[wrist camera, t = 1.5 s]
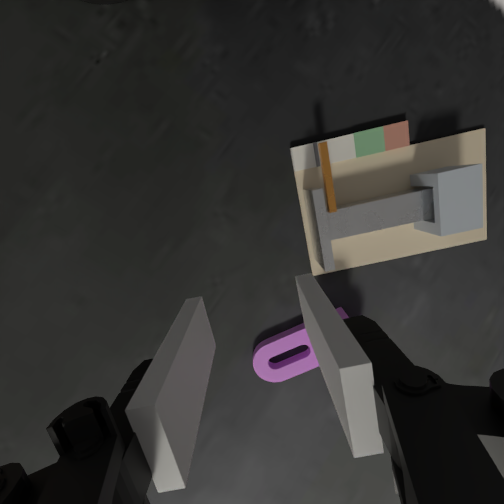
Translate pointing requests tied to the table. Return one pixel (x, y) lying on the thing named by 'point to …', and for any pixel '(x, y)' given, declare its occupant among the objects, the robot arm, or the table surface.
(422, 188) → the grey sliding clamp
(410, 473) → the robot arm
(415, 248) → the beige mechanism board
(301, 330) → the bracket
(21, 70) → the table surface
